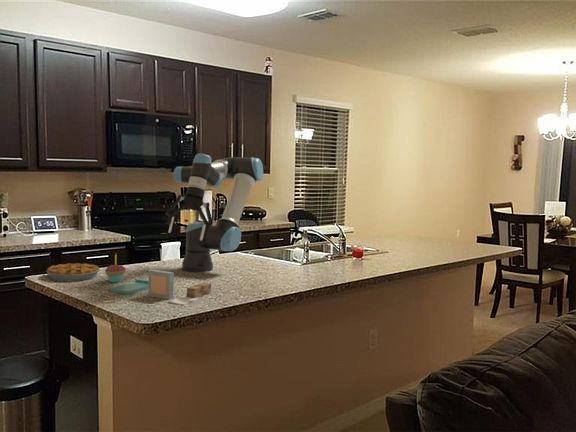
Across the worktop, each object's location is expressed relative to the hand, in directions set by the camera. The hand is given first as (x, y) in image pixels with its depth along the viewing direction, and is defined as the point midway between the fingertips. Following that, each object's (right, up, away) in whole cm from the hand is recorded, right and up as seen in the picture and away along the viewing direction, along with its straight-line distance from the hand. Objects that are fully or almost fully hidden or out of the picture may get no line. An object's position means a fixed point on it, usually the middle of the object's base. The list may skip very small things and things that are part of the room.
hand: (185, 236), depth 222 cm
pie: (-51, -18, +10) cm, 55 cm away
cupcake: (-31, -20, +4) cm, 37 cm away
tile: (-6, -23, -19) cm, 30 cm away
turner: (+6, -23, -18) cm, 30 cm away
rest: (-20, -21, -8) cm, 30 cm away
